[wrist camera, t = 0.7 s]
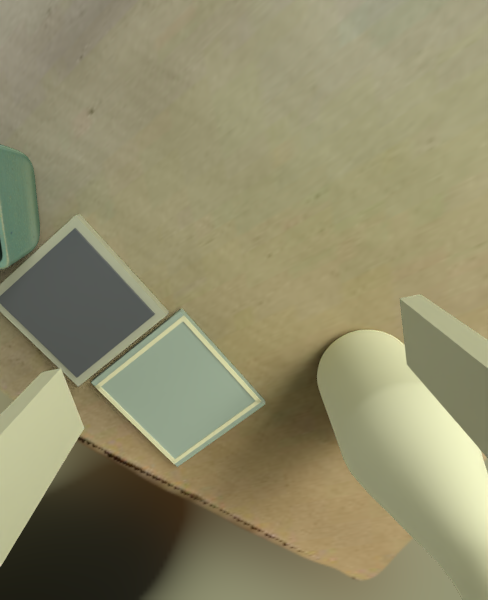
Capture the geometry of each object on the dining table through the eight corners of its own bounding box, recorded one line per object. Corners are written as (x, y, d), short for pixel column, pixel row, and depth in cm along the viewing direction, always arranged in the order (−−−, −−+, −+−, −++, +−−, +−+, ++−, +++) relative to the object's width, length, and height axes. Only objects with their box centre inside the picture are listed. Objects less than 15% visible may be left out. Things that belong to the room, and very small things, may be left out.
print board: (93, 378, 42) (90, 383, 41) (181, 308, 40) (180, 311, 39) (178, 461, 45) (177, 467, 44) (264, 400, 42) (265, 405, 42)
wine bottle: (407, 320, 40) (829, 684, 11) (409, 405, 43) (752, 874, 14) (311, 332, 40) (479, 714, 12) (318, 415, 43) (470, 894, 14)
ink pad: (-9, 294, 39) (-17, 298, 38) (79, 214, 37) (74, 215, 36) (82, 381, 42) (77, 388, 41) (168, 311, 40) (166, 315, 38)
